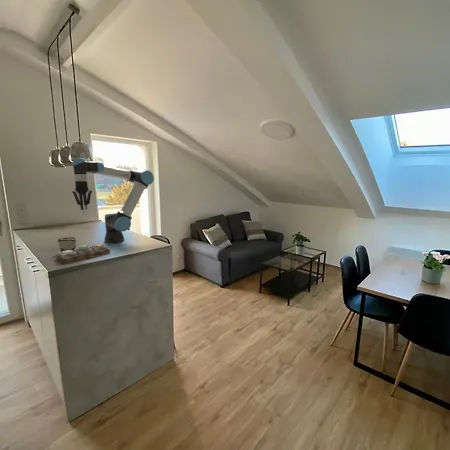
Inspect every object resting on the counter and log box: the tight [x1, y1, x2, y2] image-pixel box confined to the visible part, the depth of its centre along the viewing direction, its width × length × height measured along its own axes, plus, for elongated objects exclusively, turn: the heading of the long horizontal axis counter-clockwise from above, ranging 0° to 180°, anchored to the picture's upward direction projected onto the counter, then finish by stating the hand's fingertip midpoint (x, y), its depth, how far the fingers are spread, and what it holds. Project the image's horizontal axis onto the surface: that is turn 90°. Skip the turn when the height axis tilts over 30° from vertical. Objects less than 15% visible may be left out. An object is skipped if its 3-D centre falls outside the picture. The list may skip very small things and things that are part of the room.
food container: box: [57, 236, 77, 252], centre depth 188 cm, size 12×6×10 cm, turn 92°
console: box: [55, 244, 111, 265], centre depth 178 cm, size 29×14×5 cm, turn 139°
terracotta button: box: [93, 243, 104, 248], centre depth 185 cm, size 6×6×2 cm
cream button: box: [62, 250, 72, 255], centre depth 170 cm, size 6×6×2 cm
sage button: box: [77, 244, 89, 251], centre depth 178 cm, size 6×6×2 cm
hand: (84, 214), depth 188 cm, fingers closed
